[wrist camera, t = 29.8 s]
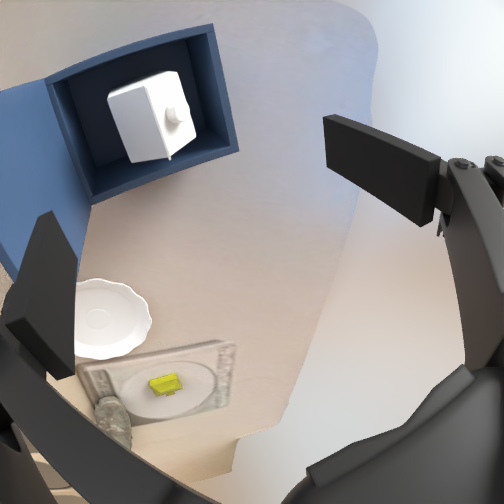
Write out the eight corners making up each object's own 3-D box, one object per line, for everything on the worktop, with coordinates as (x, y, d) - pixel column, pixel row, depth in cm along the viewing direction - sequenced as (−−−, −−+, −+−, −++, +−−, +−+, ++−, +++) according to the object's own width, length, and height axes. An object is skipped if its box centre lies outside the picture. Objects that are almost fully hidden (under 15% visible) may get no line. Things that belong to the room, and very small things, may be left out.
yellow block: (180, 367, 73) (182, 376, 71) (188, 386, 78) (191, 395, 76) (141, 379, 70) (143, 388, 68) (152, 397, 76) (155, 406, 74)
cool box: (189, 32, 37) (213, 23, 28) (211, 131, 47) (239, 151, 38) (60, 76, 33) (41, 79, 24) (93, 174, 43) (89, 207, 34)
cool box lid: (-57, 113, 8) (-133, 189, 7) (69, 340, 18) (-14, 365, 17) (43, 78, 24) (-21, 115, 22) (92, 207, 34) (31, 233, 32)
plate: (158, 341, 66) (160, 347, 65) (70, 361, 59) (70, 367, 58) (137, 263, 54) (138, 268, 53) (31, 288, 47) (29, 293, 46)
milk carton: (126, 133, 41) (133, 176, 27) (109, 89, 37) (104, 103, 22) (172, 114, 42) (207, 145, 28) (158, 70, 38) (186, 72, 23)
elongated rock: (105, 446, 84) (133, 442, 89) (108, 459, 80) (137, 455, 85) (87, 395, 66) (124, 391, 70) (90, 413, 62) (129, 409, 67)
